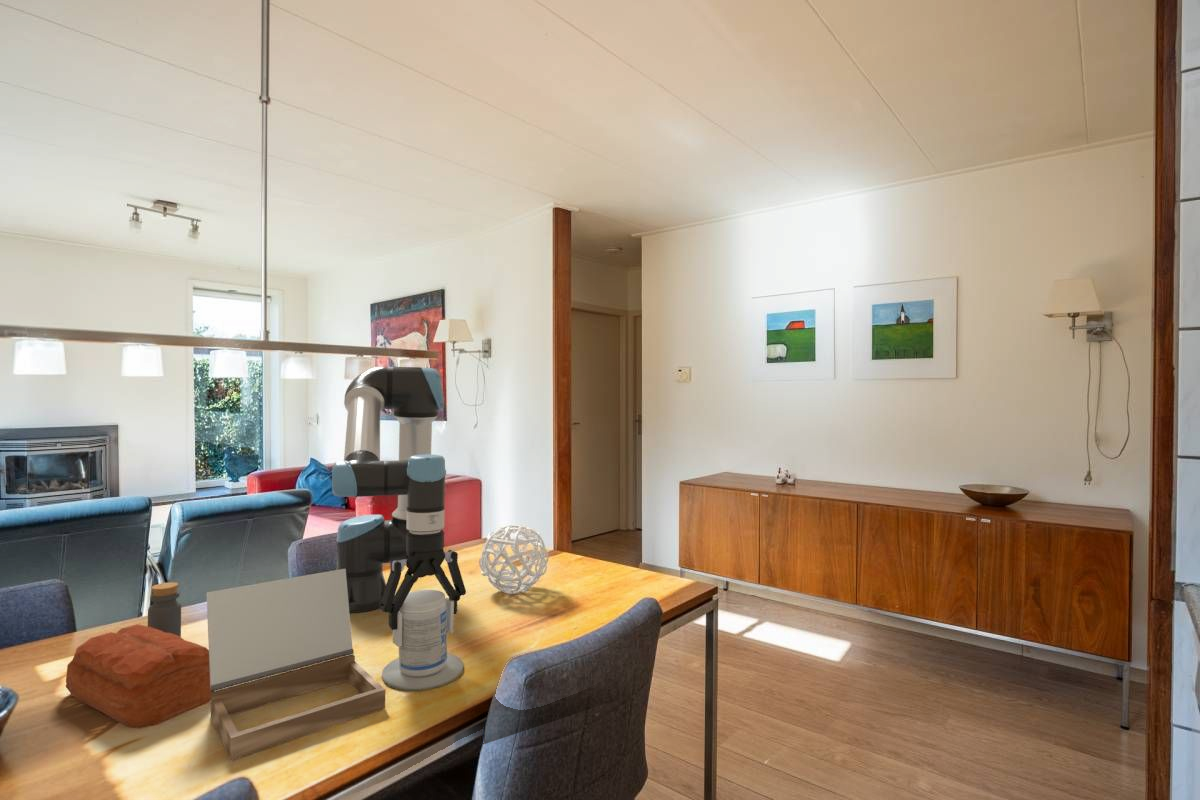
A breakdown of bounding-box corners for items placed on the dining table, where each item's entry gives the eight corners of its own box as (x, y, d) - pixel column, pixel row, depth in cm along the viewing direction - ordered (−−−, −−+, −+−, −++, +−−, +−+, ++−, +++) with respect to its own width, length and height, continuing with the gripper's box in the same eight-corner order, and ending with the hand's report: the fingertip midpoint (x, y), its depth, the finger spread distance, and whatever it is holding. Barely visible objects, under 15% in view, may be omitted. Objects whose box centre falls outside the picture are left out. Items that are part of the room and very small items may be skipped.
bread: (130, 737, 100) (131, 673, 100) (57, 696, 113) (58, 639, 113) (226, 696, 114) (227, 640, 113) (151, 664, 126) (152, 614, 126)
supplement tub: (453, 670, 123) (452, 599, 123) (406, 683, 118) (405, 609, 117) (437, 652, 131) (437, 585, 131) (393, 664, 126) (392, 594, 125)
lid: (211, 691, 105) (209, 690, 107) (353, 653, 122) (349, 653, 123) (207, 592, 109) (205, 592, 111) (346, 568, 125) (342, 569, 127)
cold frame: (210, 717, 106) (210, 692, 106) (352, 676, 122) (352, 654, 122) (230, 760, 94) (230, 731, 94) (385, 708, 110) (385, 683, 110)
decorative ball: (560, 595, 174) (561, 529, 174) (496, 608, 163) (497, 537, 162) (528, 577, 190) (529, 516, 190) (468, 588, 179) (469, 523, 179)
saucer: (369, 669, 125) (369, 665, 125) (440, 649, 136) (440, 645, 136) (402, 699, 113) (402, 695, 113) (477, 674, 124) (477, 670, 124)
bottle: (144, 662, 127) (145, 591, 126) (150, 651, 132) (151, 583, 132) (178, 657, 129) (179, 587, 129) (182, 647, 134) (183, 580, 134)
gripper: (377, 542, 114) (375, 658, 114) (483, 526, 129) (482, 628, 130) (362, 534, 120) (360, 646, 120) (466, 520, 135) (464, 618, 135)
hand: (423, 637), depth 125 cm, fingers open, 11 cm apart
